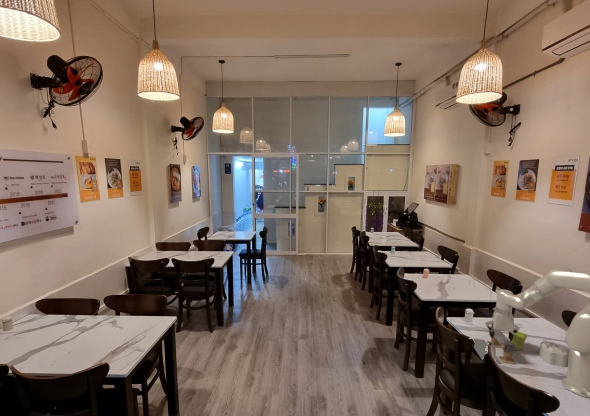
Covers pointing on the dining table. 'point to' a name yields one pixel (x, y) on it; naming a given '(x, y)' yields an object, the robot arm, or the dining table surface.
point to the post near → (506, 356)
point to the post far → (495, 342)
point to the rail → (504, 341)
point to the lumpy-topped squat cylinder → (553, 354)
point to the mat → (482, 349)
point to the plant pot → (518, 340)
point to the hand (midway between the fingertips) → (500, 338)
